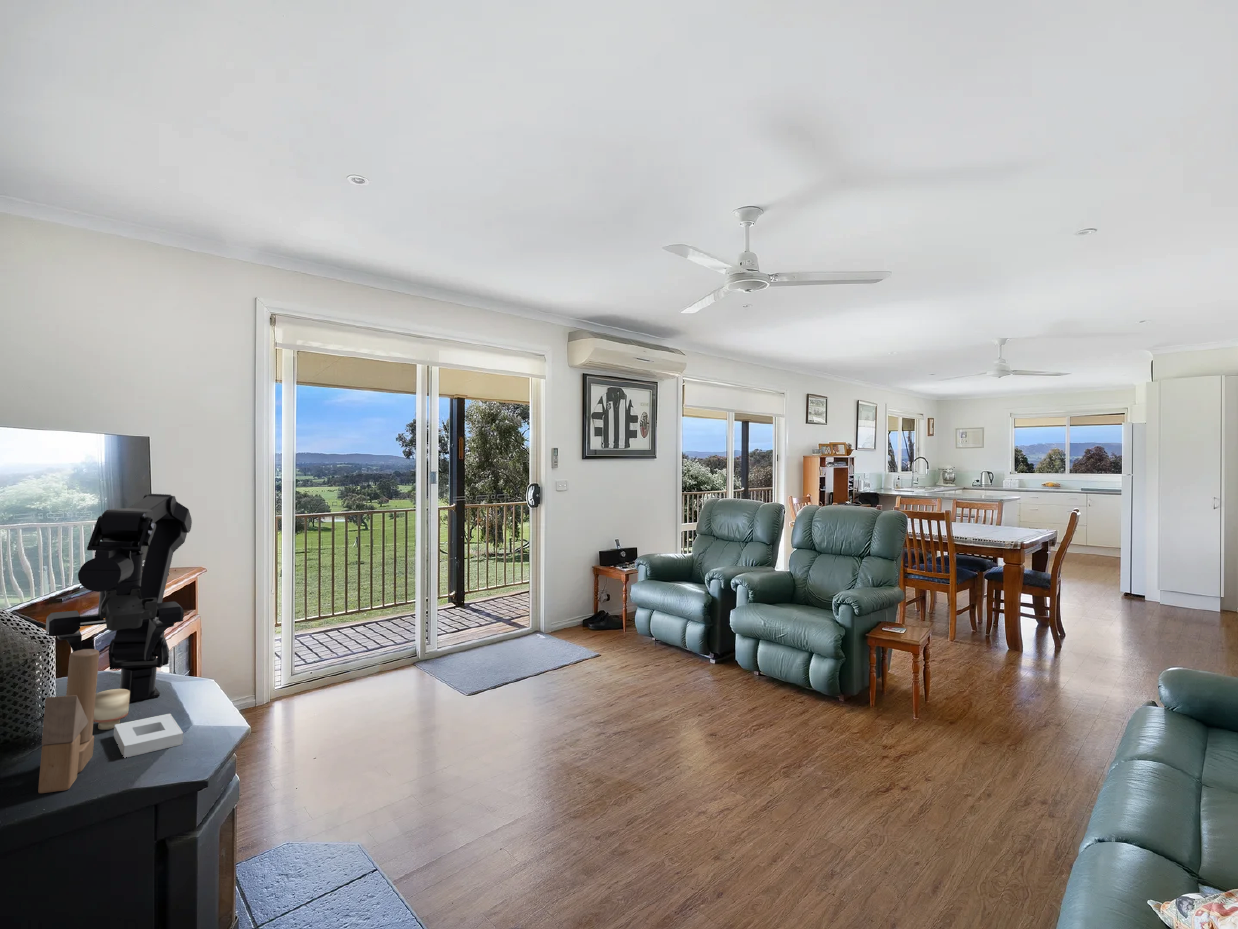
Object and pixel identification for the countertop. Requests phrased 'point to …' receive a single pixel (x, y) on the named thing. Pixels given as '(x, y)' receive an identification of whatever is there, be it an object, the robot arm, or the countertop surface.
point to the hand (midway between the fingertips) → (114, 664)
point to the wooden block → (69, 725)
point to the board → (147, 735)
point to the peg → (111, 707)
